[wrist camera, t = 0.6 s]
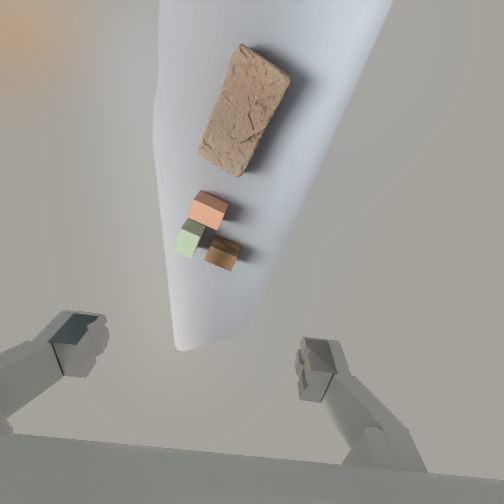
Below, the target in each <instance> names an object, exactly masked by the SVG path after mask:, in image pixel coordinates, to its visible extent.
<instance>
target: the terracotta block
mask: <svg viewBox="0 0 504 504" xmlns="http://www.w3.org/2000/svg"><path fill="white" fill-rule="evenodd" d="M228 205H229V203H226V202H224V201H222V200H220V199H218V198H216V197H214V196H211V195H209V194H207V193H205V192H203V191H201V190H200V192H199V193H198V194H197V196H196V197H195V198H194V200H193V203H192V206H191V209H190V212H189V215H188V218H190V219H193V220H195V221H197V222H199V223H202V224H204V225H206V226H208V227H210V228H213V229H215V230H218V227H219V225H220V223H221V221H222V218H223V216H224V214H225V212H226V209H227V207H228Z"/></svg>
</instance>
